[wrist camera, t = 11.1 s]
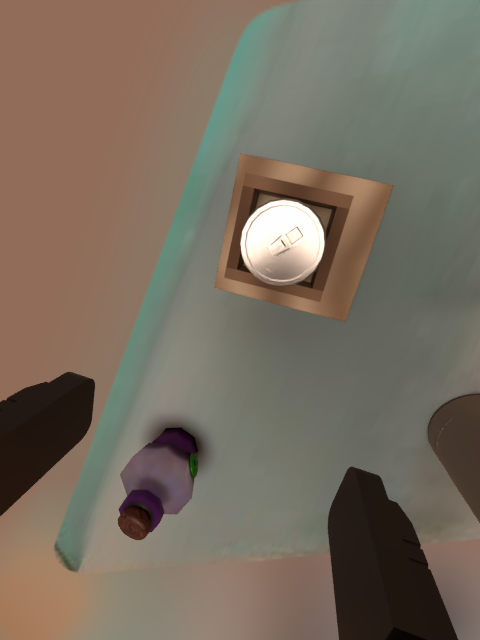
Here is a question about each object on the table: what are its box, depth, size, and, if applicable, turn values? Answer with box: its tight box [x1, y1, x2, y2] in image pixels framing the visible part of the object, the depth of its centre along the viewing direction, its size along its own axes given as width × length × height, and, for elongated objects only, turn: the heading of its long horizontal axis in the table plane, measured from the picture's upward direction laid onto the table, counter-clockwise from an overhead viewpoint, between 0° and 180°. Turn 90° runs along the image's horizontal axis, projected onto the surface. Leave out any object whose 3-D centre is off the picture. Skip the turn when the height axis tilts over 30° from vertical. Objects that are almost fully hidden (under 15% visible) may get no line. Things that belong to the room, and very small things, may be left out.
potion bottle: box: [118, 428, 198, 540], centre depth 34 cm, size 9×9×12 cm
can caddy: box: [214, 154, 394, 322], centre depth 28 cm, size 14×13×5 cm
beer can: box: [240, 198, 327, 287], centre depth 23 cm, size 5×5×12 cm
